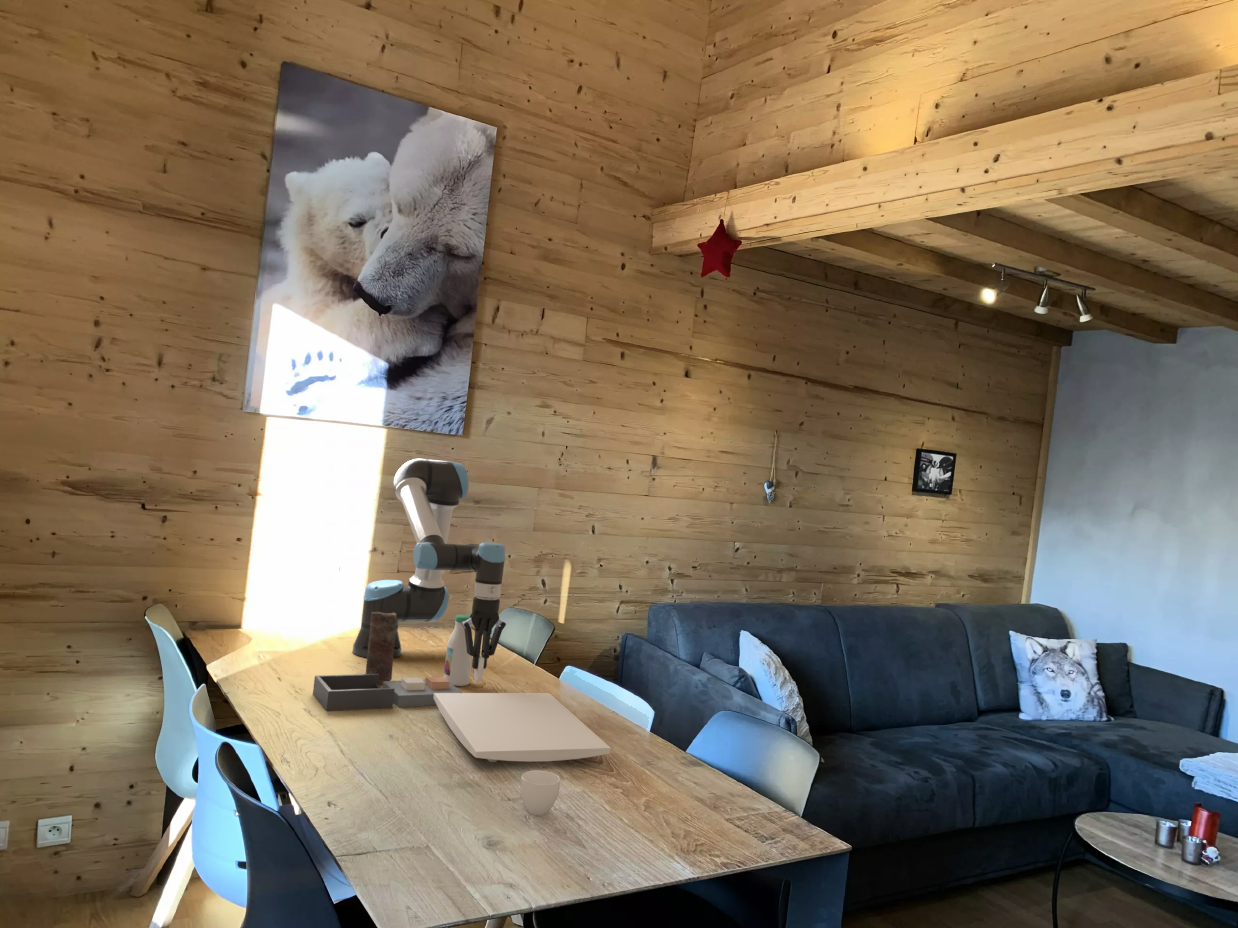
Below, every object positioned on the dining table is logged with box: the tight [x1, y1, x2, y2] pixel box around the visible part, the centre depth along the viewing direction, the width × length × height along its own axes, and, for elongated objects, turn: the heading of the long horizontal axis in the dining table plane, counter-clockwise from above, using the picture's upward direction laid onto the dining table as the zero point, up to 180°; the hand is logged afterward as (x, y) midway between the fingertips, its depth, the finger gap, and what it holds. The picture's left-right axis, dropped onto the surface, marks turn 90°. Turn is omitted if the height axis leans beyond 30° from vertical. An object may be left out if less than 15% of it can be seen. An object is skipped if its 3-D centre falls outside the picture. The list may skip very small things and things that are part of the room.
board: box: [433, 692, 612, 763], centre depth 223 cm, size 45×32×5 cm
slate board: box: [382, 679, 464, 708], centre depth 247 cm, size 14×18×3 cm
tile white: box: [400, 676, 425, 690], centre depth 245 cm, size 5×5×2 cm
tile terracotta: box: [425, 676, 449, 689], centre depth 249 cm, size 5×5×2 cm
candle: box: [365, 612, 397, 685], centre depth 259 cm, size 8×7×20 cm
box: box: [312, 673, 395, 712], centre depth 237 cm, size 15×17×5 cm
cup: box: [520, 769, 561, 816], centre depth 180 cm, size 8×10×7 cm
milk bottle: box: [443, 614, 473, 687], centre depth 266 cm, size 8×8×20 cm
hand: (477, 679), depth 255 cm, fingers closed
